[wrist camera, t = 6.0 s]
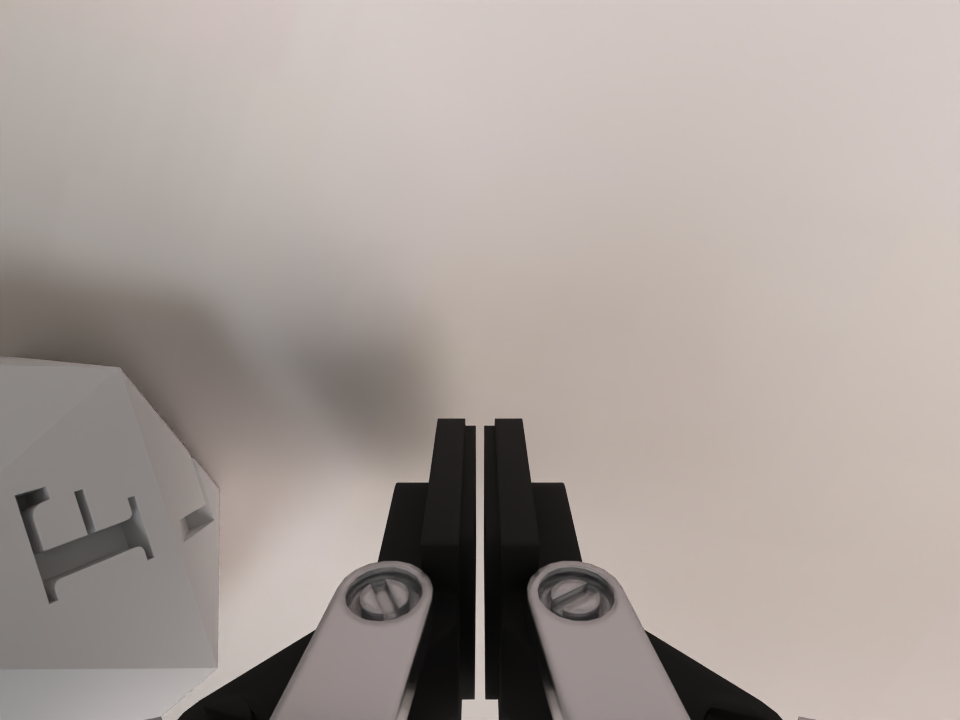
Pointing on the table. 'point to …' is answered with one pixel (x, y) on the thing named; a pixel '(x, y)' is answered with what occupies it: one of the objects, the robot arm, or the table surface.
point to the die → (100, 549)
